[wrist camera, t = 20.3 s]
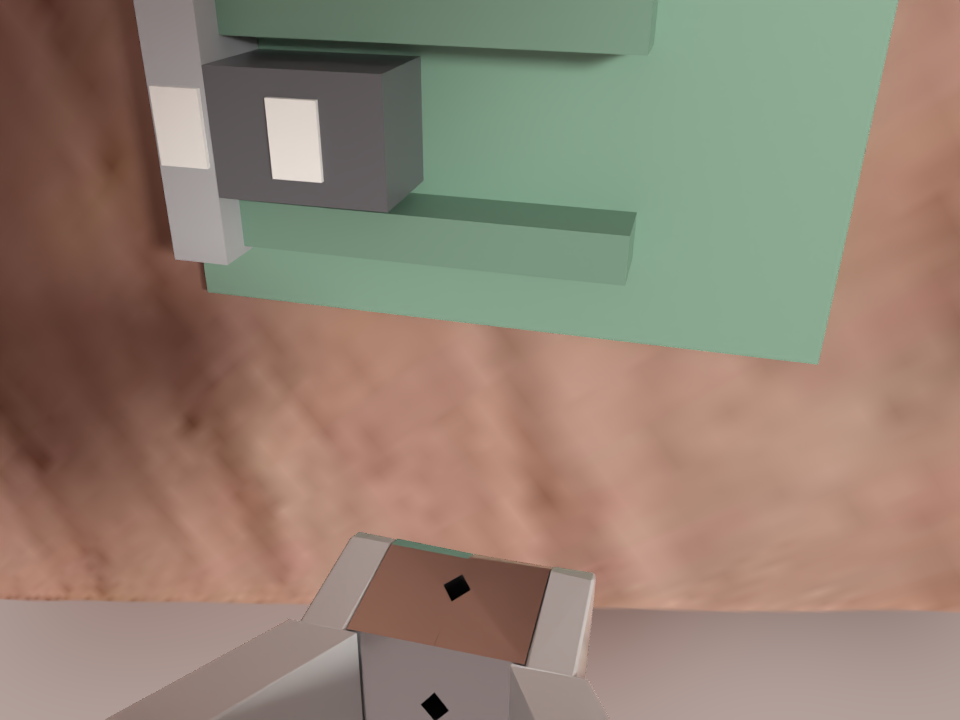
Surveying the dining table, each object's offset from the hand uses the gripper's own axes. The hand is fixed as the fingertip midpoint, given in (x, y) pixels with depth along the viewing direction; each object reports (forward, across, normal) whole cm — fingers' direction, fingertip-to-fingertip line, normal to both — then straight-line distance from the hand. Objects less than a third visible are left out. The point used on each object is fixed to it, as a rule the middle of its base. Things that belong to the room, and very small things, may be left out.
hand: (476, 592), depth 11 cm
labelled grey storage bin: (+26, +12, 0) cm, 29 cm away
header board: (+27, +6, 0) cm, 28 cm away
